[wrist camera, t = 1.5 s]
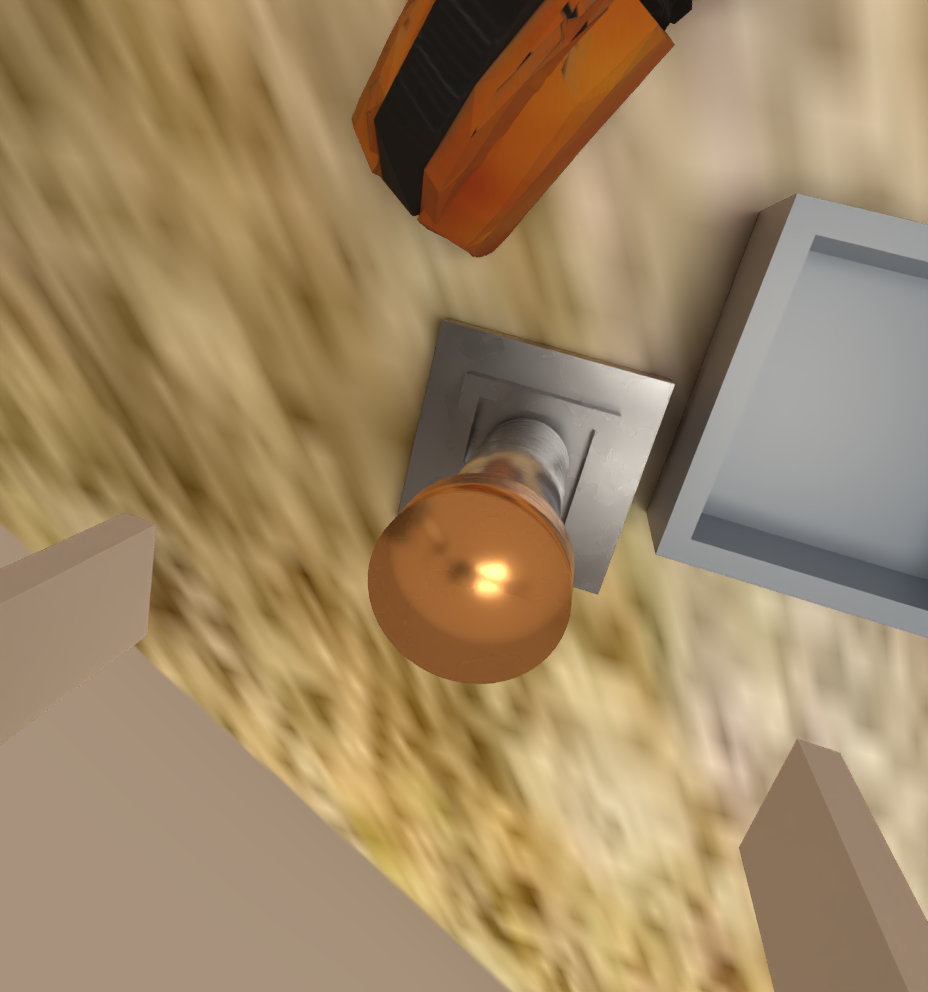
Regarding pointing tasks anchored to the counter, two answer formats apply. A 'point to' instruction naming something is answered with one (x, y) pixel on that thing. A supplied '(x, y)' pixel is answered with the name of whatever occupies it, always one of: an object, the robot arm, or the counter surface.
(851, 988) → the robot arm
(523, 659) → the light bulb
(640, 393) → the collar plate
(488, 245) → the tool
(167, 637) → the counter surface
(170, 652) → the counter surface
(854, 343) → the bin
